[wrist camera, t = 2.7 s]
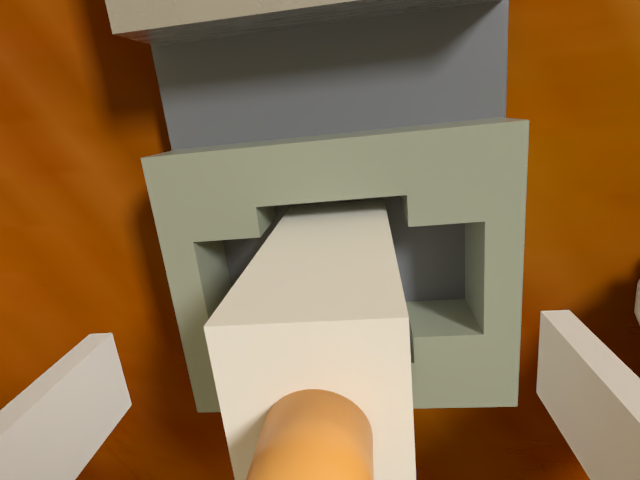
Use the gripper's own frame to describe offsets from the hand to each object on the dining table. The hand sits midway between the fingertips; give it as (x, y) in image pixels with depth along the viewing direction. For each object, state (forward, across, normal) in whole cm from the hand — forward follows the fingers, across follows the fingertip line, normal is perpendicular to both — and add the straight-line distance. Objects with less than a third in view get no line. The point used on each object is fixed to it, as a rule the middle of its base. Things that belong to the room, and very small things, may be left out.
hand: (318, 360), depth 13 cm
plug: (+9, 0, 0) cm, 9 cm away
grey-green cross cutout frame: (+9, 0, 0) cm, 9 cm away
